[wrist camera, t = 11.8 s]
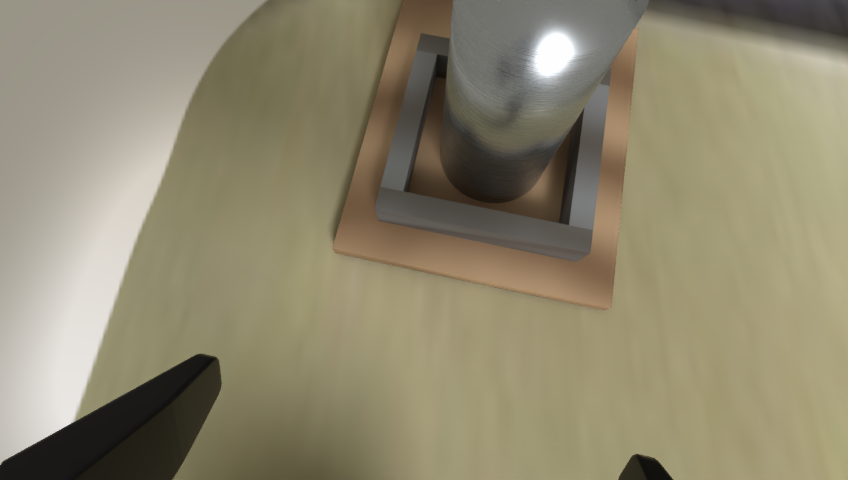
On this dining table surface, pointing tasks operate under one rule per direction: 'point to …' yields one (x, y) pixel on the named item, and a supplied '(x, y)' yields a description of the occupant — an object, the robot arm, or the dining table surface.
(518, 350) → the dining table surface
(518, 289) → the base
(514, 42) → the duct elbow
